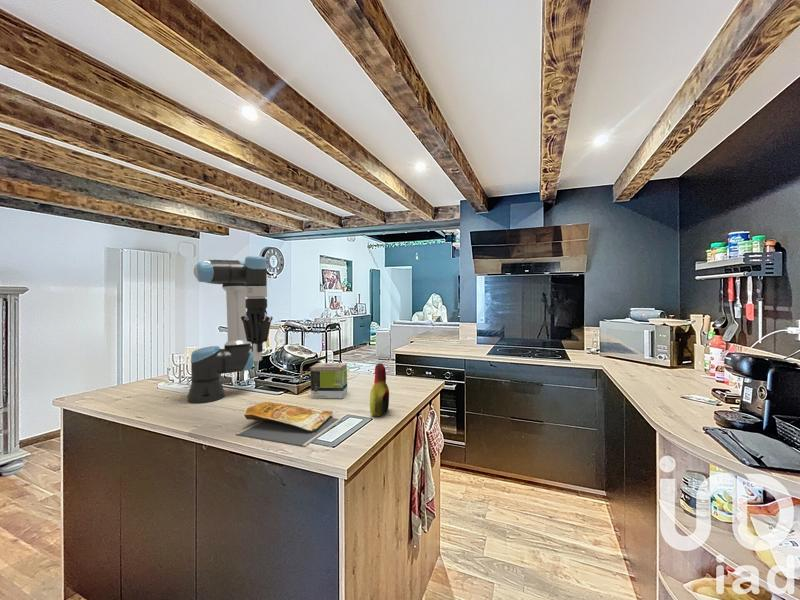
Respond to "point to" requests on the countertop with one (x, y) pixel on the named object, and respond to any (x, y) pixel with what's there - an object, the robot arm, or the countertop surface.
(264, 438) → the mat
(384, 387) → the bottle
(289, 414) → the pancake mix bag
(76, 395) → the countertop surface
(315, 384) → the tea box
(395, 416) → the countertop surface
